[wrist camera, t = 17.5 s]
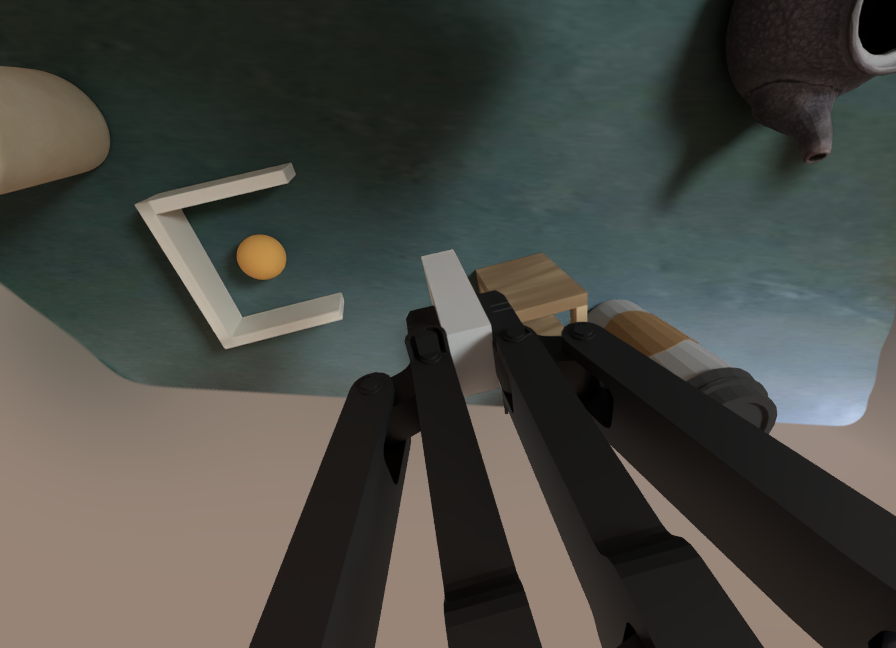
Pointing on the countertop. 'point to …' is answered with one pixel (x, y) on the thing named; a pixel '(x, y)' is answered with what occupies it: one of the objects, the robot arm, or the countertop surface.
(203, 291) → the white u-shaped corral
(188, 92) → the countertop surface
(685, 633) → the robot arm
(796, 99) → the teapot
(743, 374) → the coffee cup
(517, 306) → the wooden cage
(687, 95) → the countertop surface
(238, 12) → the countertop surface
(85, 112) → the candle
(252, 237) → the ball
